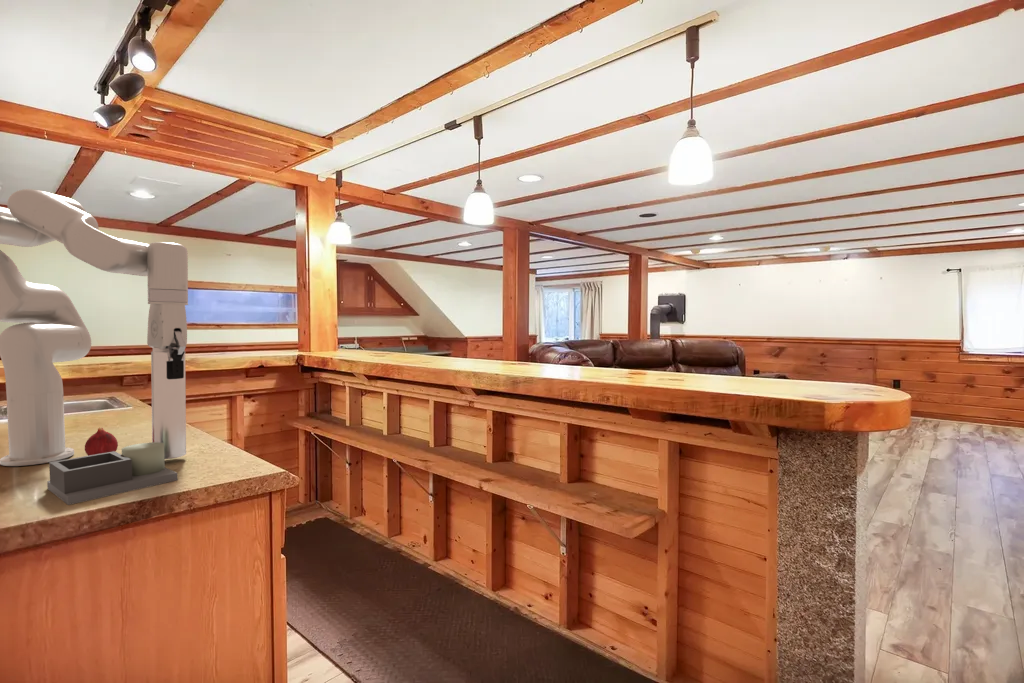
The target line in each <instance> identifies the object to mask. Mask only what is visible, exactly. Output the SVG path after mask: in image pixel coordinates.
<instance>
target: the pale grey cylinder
mask: <svg viewBox="0 0 1024 683" xmlns="http://www.w3.org/2000/svg"><path fill="white" fill-rule="evenodd" d="M184 352H185V353H184V377H183V378H181V379H167V363H166V361H169V360H168V355H167V349H166V348H165V349H159V348H154V347H153V348H152V351H151V352H150V358H151V359H150V360H151V362H150V364H151V365H150V366H151V367H150V370H151V372H150V373H151V374H150V375H151V376H150V377H151V379H150V380H151V443H152V442H158V443H164V459H165V460H169V459H170V460H171V459H177V458H181V457H183V456H185V455H187V412H186V411H187V408H186V407H187V406H186V404H187V403H186V402H187V401H186V400H187V397H186V395H187V394H186V391H187V390H186V384H187V383H186V350H184ZM172 354H173V351H172Z"/></svg>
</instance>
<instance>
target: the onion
mask: <svg viewBox="0 0 1024 683" xmlns="http://www.w3.org/2000/svg"><path fill="white" fill-rule="evenodd" d="M84 444H85V445H84V451H85V454H86V456H89V455H95V454H101V453H107V452H113V451H115V452H116V451H117V450H118V446H119V442H118V439H117V438H116V437H115V435H114V434H112V433H111V432H108V431H106V430H105V429H104V428H103V426H102V427H98V428H97V431H96V432H95V433H94V434H92V435H91V436H90V437H88V438H87V440H86V442H85V443H84Z"/></svg>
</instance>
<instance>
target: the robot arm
mask: <svg viewBox="0 0 1024 683" xmlns="http://www.w3.org/2000/svg"><path fill="white" fill-rule="evenodd" d="M6 204H7V207H4V206H0V245H1V244H2V245H9V246H15V247H22V248H23V247H24V248H32V247H38V246H41V245H44V244H48V243H51V242H54V241H57V242H59V243H61V244H63V246H64V248H65V249H66V250H67V252H68V253H69V254H70V255H71V256H73V257H74V258H76V259H78V260H79V261H82V262H84V263H85V264H88V265H90V266H91V267H94V268H96V269H99V270H101V271H104V272H107V273H113V274H123V275H131V276H140V277H147V304H148V305H149V308H148V317H147V337H146V338H147V340H146V343H147V346H149V348H152V349H153V347H154V348H159V349H165V348H166V349H167V355H168V360H169V361H166V363H167V379H181V378H183V377H184V353H185V354H186V350H185V349H186V348H187V343H188V322H187V313H186V312H187V311H186V310H187V309H186V306H189V275H188V274H189V268H188V267H189V265H188V263H189V261H188V260H189V259H188V258H189V257H188V256H189V255H188V249H187V247H186V246H184V245H183V244H181V243H175V242H166V241H154V242H150V243H144V242H138V241H135V240H130V239H123V238H117V237H115V236H112V235H109V234H107V233H105V232H103V231H101V230H99V223H98V221H97V219H96V218H95V217H94V216H93V215H91V214H90V213H87V211H86V209H85V208H84V206H83V205H82V204H81V203H79V202H78V201H76V200H75V199H72V198H70V197H68V196H67V197H66V196H64V195H59V194H56V193H51V192H48V191H43V190H39V189H33V188H25V189H20V190H16V191H14V192H13V193H11V195H10V196H9V197H8V199H7V203H6ZM0 322H1V323H2V322H3V323H12V325H11V326H8V327H6V328H5V329H4V330H3V331H1V333H0V359H1V363H2V367H3V371H4V379H5V390H6V391H5V393H6V410H7V411H6V412H7V434H8V453H9V454H8V455H7V454H6V455H5V456H3V457H0V466H4V467H5V466H6V467H22V466H33V465H40V464H46V463H48V464H49V462H54V461H60V460H66V459H69V458H70V457H72V456H73V455H75V449H74V448H72V447H66V430H65V429H66V426H65V403H64V400H65V399H64V385H63V378H62V375H60V373H59V371H58V369H57V368H56V366H55V364H54V363H63V362H72V361H77V360H78V361H79V360H80V359H83V358H84V357H86V356H87V355H88V354H89V352H90V351H91V349H92V348H91V347H92V338H91V335H90V332H89V329H88V328H87V326H86V325H85V322H84V321H83V319H82V317H81V316H80V314H79V312H78V311H77V308H76V307H75V304H74V303H73V302H72V300H71V298H70V297H69V296H68V294H67V293H66V292H65V291H63V290H62V289H61V288H59V287H57V286H54V285H52V284H46V283H36V282H35V283H34V282H30V281H28V280H26V278H24V277H23V275H22V273H21V272H20V270H19V269H18V267H17V265H16V263H15V262H14V261H13V260H12V258H11V257H10V256H8V255H7V254H6V253H5V252H4V251H2V250H1V249H0ZM13 323H16V324H13ZM172 351H173V354H172ZM184 351H185V352H184Z"/></svg>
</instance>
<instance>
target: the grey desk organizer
mask: <svg viewBox="0 0 1024 683" xmlns="http://www.w3.org/2000/svg"><path fill="white" fill-rule="evenodd" d="M165 460H166V459H164V443H158V442H152V441H151V442H142V443H135V444H131V445H126V446H124V447H122V448H121V453H120V452H116V451H113V452H107V453H101V454H95V455H89V456H88V455H85V456H79V457H78V456H77V457H73V458H72V457H71V458H65V459H61V460H57V461H53V462H48V465H49V466H48V467H49V468H48V469H49V480H47V485H46V486H47V490H48V491H49V492H51V493H52V494H54V495H55V496H56V497H57V498H58V499H60V500H61V501H63V502H64V503H65V504H66V505H68V506H70V505H75V504H78V503H83V502H87V501H91V500H95V499H97V500H98V499H101V498H104V497H109V496H113V495H118V494H122V493H127V492H131V491H136V490H141V489H144V488H149V487H153V486H158V485H162V484H167V483H170V482H175V481H178V472H176V471H174V470H172V469H169V468H167V467H166V466H165V465H166V464H165V463H166V462H165Z"/></svg>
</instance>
